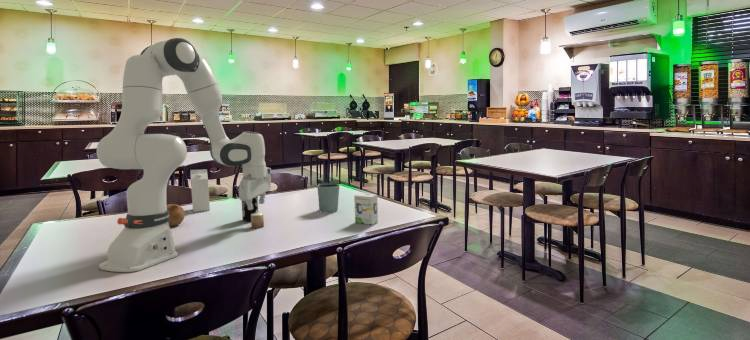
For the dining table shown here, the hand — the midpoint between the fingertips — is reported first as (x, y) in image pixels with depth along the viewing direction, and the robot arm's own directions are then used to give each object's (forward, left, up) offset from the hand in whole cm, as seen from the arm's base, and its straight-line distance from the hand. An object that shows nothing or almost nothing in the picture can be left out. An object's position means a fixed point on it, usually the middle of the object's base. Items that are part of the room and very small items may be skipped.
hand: (256, 206), depth 170 cm
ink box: (+14, -42, -8) cm, 45 cm away
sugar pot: (-1, -1, -8) cm, 8 cm away
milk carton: (+20, +39, -8) cm, 45 cm away
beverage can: (+8, +7, -8) cm, 14 cm away
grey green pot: (+31, -20, -8) cm, 38 cm away
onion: (-6, +34, -8) cm, 36 cm away
